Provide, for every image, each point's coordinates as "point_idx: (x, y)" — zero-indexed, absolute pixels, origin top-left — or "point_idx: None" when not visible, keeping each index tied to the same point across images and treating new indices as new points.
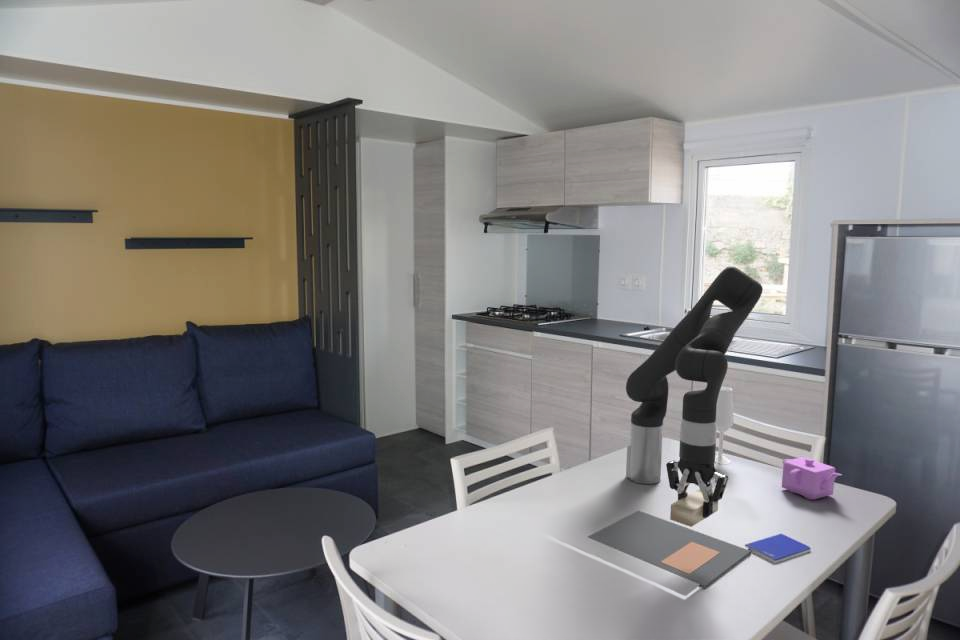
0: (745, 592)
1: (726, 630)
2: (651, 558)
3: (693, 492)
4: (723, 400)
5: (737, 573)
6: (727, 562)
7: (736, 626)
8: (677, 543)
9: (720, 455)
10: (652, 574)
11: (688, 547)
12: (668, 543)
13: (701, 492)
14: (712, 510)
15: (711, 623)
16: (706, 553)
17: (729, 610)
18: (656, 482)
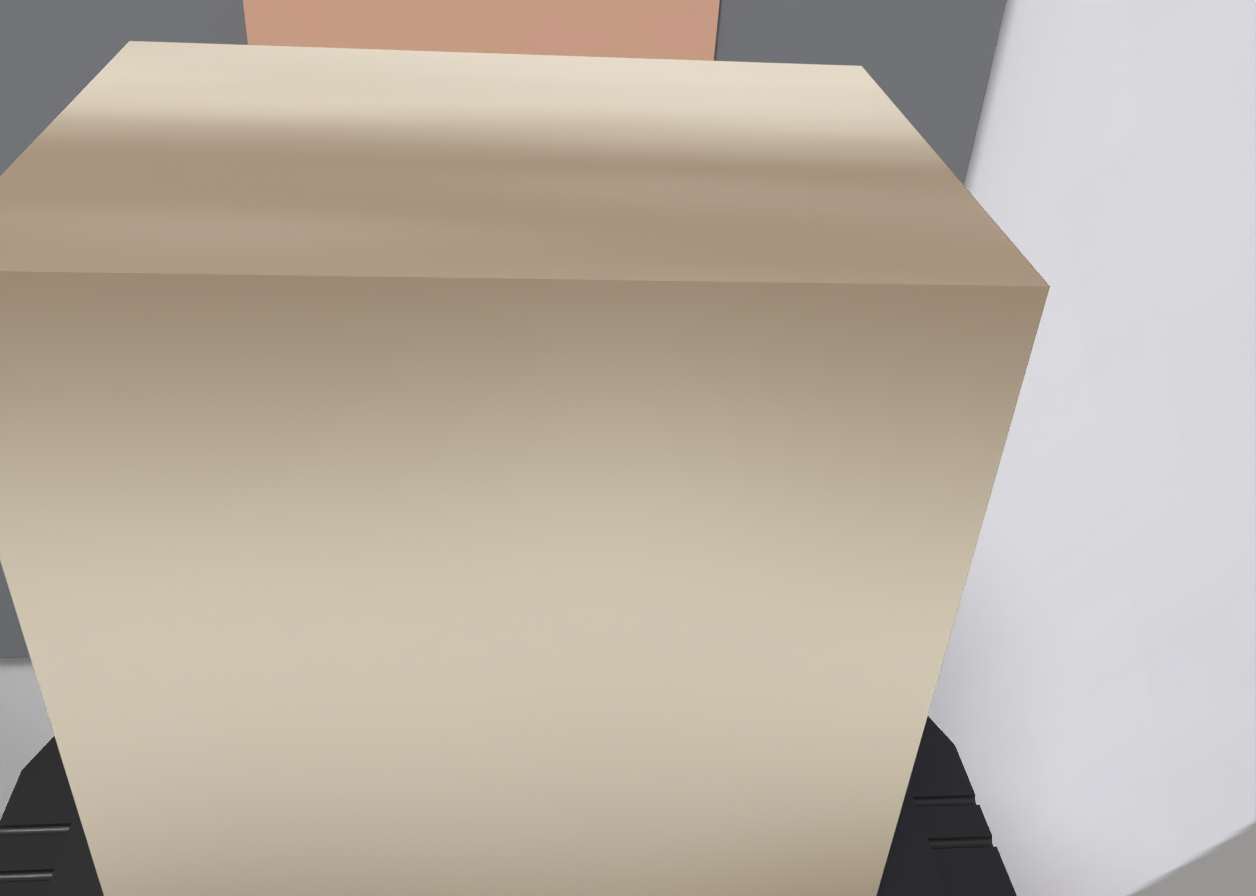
0: (1195, 432)
1: (1127, 888)
2: None
3: (49, 650)
4: None
5: (1065, 134)
6: (919, 30)
7: (1180, 828)
8: (104, 2)
9: None
10: None
11: (305, 16)
12: (26, 110)
13: (268, 441)
14: (971, 792)
15: (1026, 892)
16: (595, 2)
17: (1107, 725)
18: None
